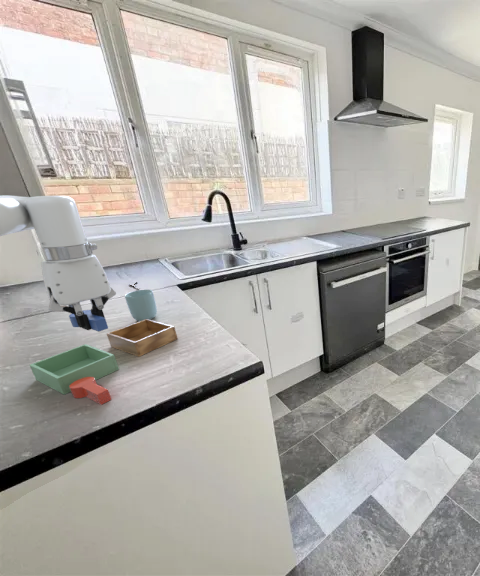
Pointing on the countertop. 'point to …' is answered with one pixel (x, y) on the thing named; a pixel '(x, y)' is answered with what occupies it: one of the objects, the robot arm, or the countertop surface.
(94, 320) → the blue block
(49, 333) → the countertop surface
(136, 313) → the cup
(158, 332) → the oak bin
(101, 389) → the red t-shaped block
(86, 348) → the sage bin
